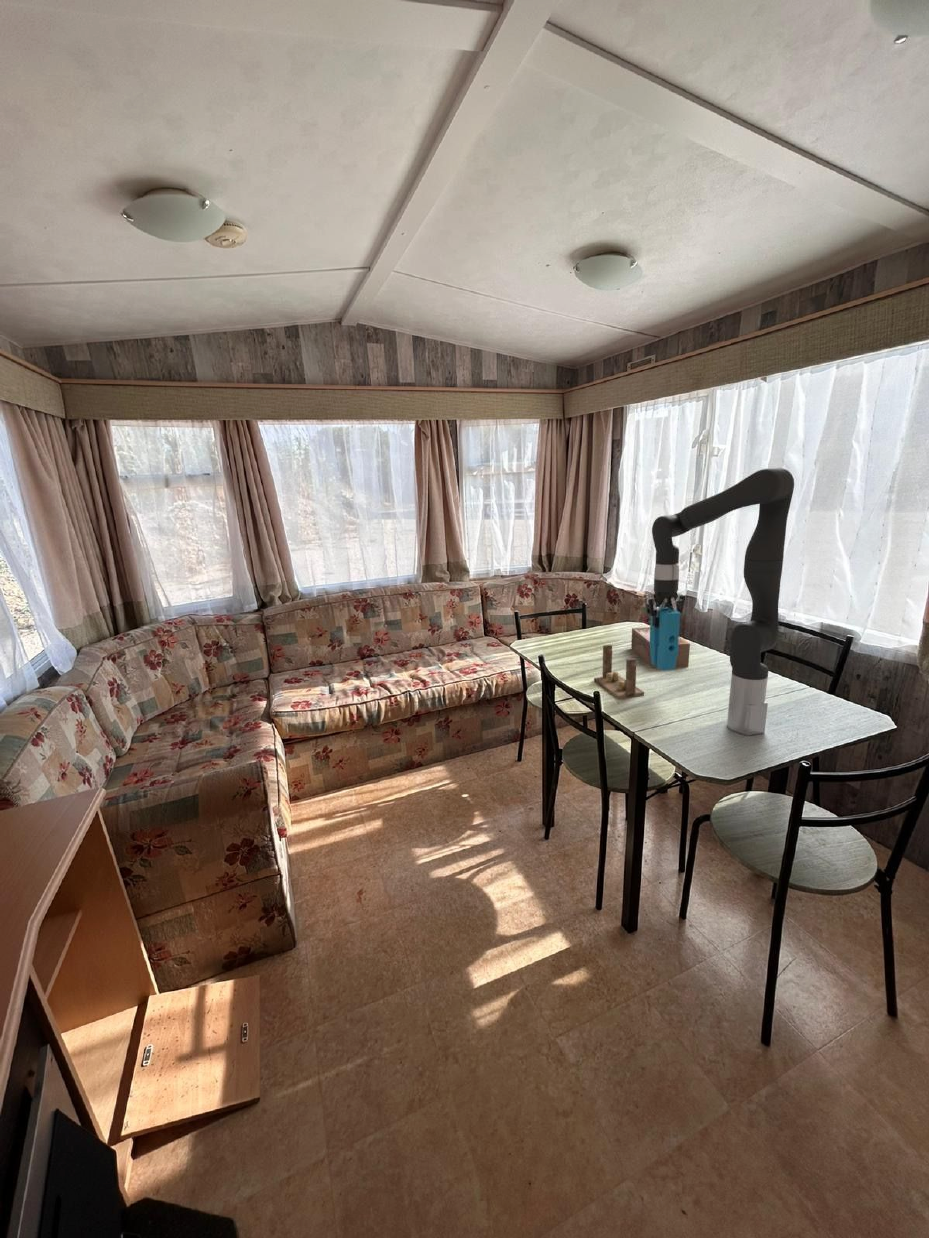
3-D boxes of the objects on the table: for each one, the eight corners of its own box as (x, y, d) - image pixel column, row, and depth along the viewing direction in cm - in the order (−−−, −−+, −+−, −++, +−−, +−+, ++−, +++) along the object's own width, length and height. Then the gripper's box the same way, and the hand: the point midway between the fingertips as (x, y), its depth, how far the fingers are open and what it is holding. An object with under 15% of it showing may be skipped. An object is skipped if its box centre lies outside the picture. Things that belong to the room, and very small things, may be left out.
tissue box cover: (631, 649, 225) (632, 628, 222) (662, 647, 225) (663, 626, 222) (652, 668, 200) (654, 645, 197) (688, 667, 200) (690, 643, 197)
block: (678, 671, 163) (681, 612, 159) (663, 672, 163) (665, 614, 158) (661, 659, 175) (663, 605, 170) (648, 660, 175) (649, 606, 170)
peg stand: (617, 677, 192) (618, 643, 189) (643, 695, 175) (645, 657, 172) (594, 680, 190) (594, 646, 187) (618, 699, 173) (619, 661, 170)
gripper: (653, 580, 157) (651, 632, 161) (693, 576, 160) (690, 627, 164) (640, 577, 164) (638, 626, 168) (678, 573, 167) (675, 621, 171)
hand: (664, 626), depth 166 cm, fingers closed on block, 5 cm apart
